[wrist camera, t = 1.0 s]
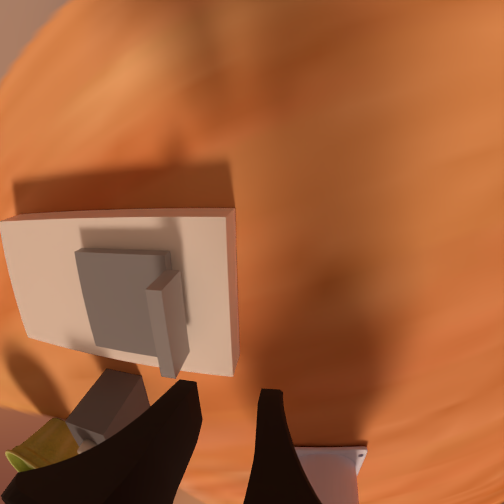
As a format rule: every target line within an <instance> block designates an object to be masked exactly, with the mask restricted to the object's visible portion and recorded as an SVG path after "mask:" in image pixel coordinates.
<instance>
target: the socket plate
mask: <svg viewBox="0 0 504 504" xmlns="http://www.w3.org/2000/svg"><path fill="white" fill-rule="evenodd" d="M0 232H1V238H2V243H3V248H4V253H5V258H6V262H7V267H8V271H9V275H10V279H11V283H12V287H13V291H14V295H15V298H16V302H17V305H18V308H19V312H20V315H21V318H22V321H23V324H24V327H25V330H26V333H27V336H28V337H29V338H33V339H36V340H39V341H43V342H46V343H50V344H54V345H57V346H61V347H65V348H69V349H73V350H77V351H81V352H85V353H89V354H94V355H98V356H103V357H107V358H112V359H117V360H122V361H127V362H132V363H138V364H143V365H149V366H155V367H159V363H158V358H157V357H153V356H147V355H141V354H135V353H130V352H124V351H119V350H113V349H108V348H103V347H99V346H96V345H95V341H94V338H93V334H92V331H91V327H90V323H89V319H88V315H87V311H86V307H85V303H84V298H83V294H82V289H81V285H80V280H79V275H78V270H77V265H76V259H75V253H74V252H75V251H77V250H79V249H80V248H104V249H134V250H164V251H170V253H171V264H172V270H180V271H181V281H182V291H183V300H184V309H185V318H186V326H187V334H188V342H189V349H190V352H189V354H188V356H187V358H186V360H185V362H184V364H183V366H182V368H181V369H180V370H181V371H188V372H195V373H203V374H212V375H221V376H231V377H233V375H234V372H235V369H236V365H237V362H238V359H239V355H240V345H239V318H238V289H237V257H236V219H235V208H152V209H113V210H86V211H65V212H46V213H30V214H19V215H16V216H13V217H10V218H8V219H5V220H2V221H0Z"/></svg>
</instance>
